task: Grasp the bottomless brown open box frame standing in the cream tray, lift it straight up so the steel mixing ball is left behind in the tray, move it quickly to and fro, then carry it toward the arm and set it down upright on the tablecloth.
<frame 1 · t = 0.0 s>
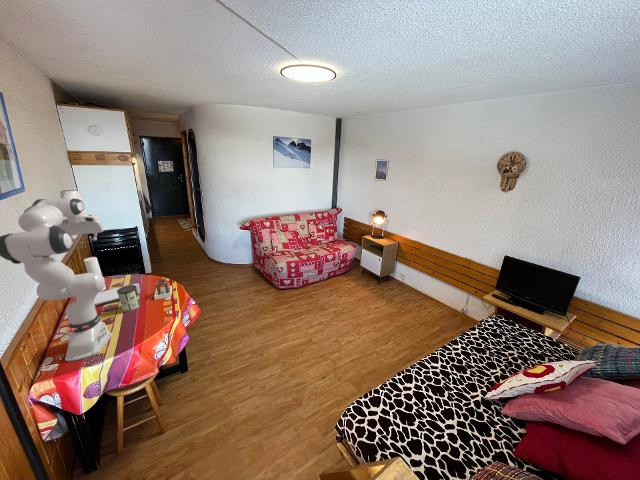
hand: (85, 241, 152), 48 cm above the table, fingers open, 8 cm apart
cream tray: (164, 294, 187), on the table
coffee can: (131, 307, 172), on the table
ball: (163, 294, 186), point 1 cm above the table, touching cream tray
brown open box frame: (163, 294, 186), point 1 cm above the table, touching cream tray
cylindrical container: (100, 289, 193), on the table
tray: (113, 298, 183), on the table
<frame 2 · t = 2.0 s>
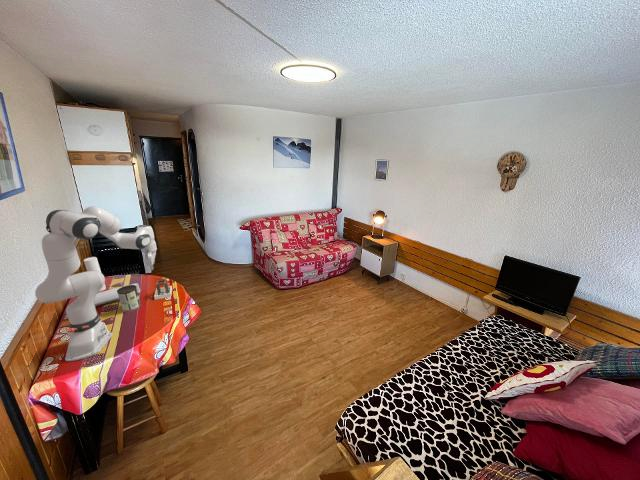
hand: (152, 266, 178), 23 cm above the table, fingers open, 8 cm apart
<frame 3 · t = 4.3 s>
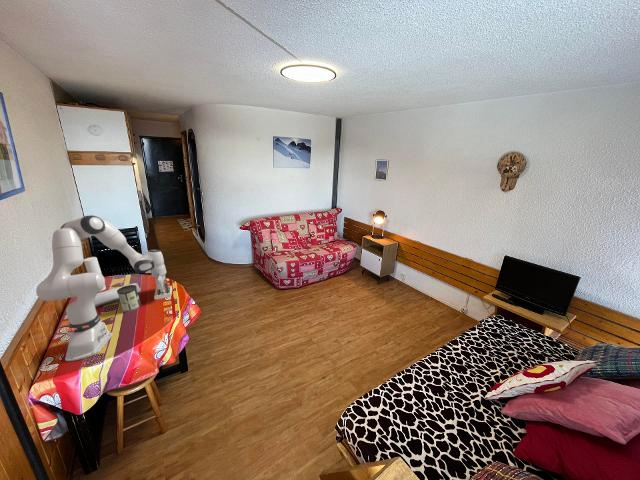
hand: (162, 289, 185), 5 cm above the table, fingers closed on brown open box frame, 5 cm apart
brown open box frame: (163, 294, 186), point 1 cm above the table, touching cream tray, gripper
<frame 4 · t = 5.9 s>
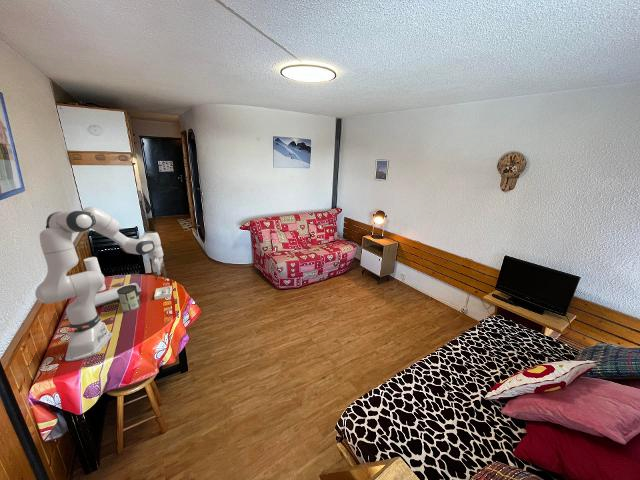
hand: (159, 272, 180), 18 cm above the table, fingers closed on brown open box frame, 5 cm apart
brown open box frame: (161, 277, 182), point 14 cm above the table, touching gripper
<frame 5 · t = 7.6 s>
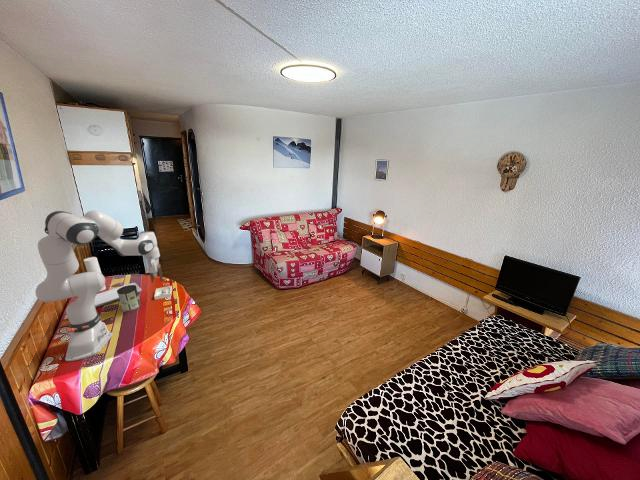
hand: (156, 274, 172), 20 cm above the table, fingers closed on brown open box frame, 5 cm apart
brown open box frame: (157, 279, 174), point 16 cm above the table, touching gripper
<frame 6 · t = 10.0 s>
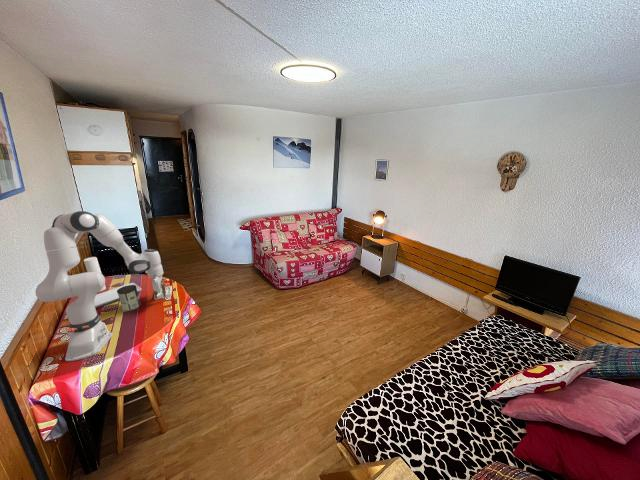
hand: (159, 290, 176), 9 cm above the table, fingers closed on brown open box frame, 5 cm apart
brown open box frame: (160, 295, 177), point 4 cm above the table, touching gripper
when the fingers open (6 cm above the table, at t = 11.2 s): brown open box frame drops 1 cm, on the table.
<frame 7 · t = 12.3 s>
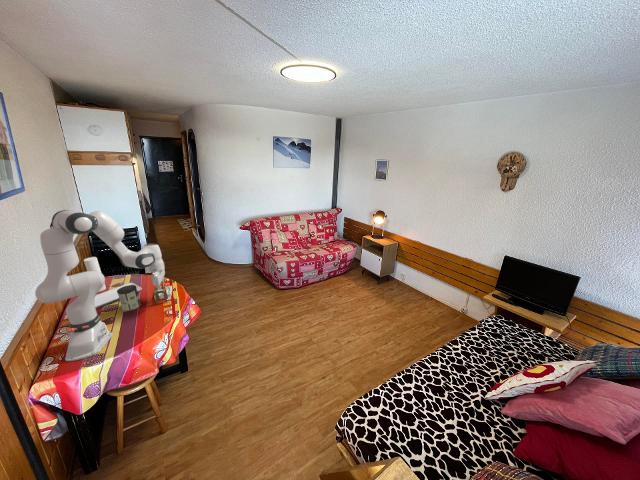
hand: (161, 286, 173), 13 cm above the table, fingers open, 8 cm apart
brown open box frame: (162, 301, 178), on the table
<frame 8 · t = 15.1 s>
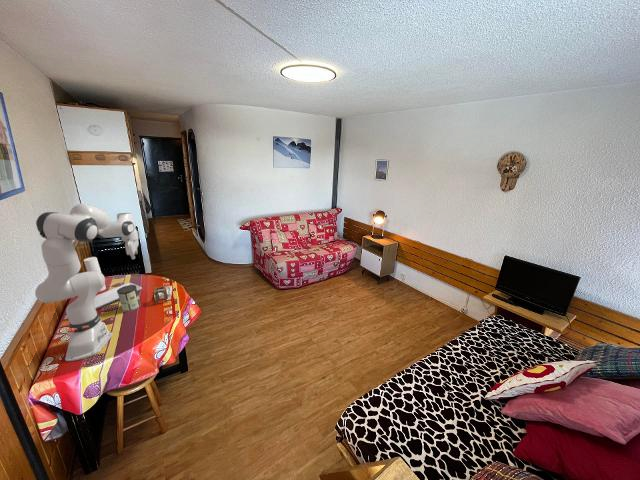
hand: (135, 256, 174), 31 cm above the table, fingers open, 8 cm apart
at the end: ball inside the target area on the cream tray (0.0 cm from its centre), point 0.6 cm above the cream tray's base; brown open box frame inside the target area (0.5 cm from its centre), on the table; brown open box frame tilted 0° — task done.
